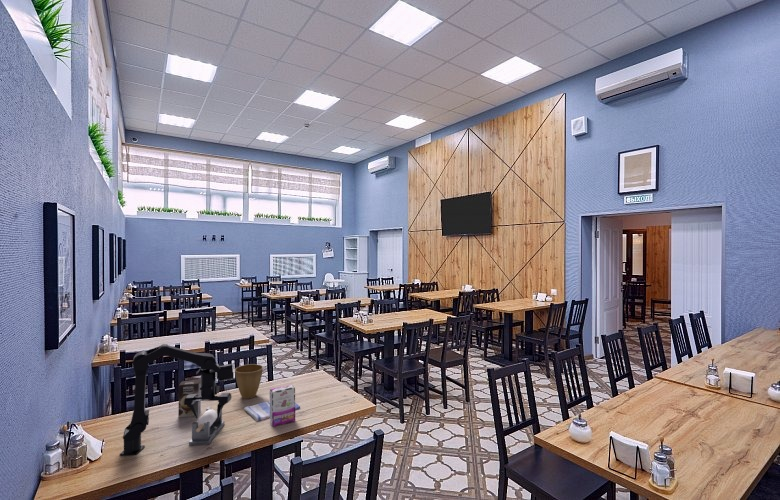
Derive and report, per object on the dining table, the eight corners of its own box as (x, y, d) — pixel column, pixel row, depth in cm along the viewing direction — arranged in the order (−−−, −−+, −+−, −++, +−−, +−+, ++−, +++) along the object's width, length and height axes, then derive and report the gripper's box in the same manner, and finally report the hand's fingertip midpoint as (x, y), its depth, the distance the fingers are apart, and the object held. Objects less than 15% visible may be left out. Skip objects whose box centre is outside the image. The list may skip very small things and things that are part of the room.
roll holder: (208, 444, 157) (208, 424, 157) (188, 445, 156) (189, 425, 156) (224, 423, 176) (224, 405, 176) (206, 424, 175) (206, 406, 175)
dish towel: (243, 411, 191) (243, 405, 191) (286, 399, 206) (286, 394, 206) (255, 423, 178) (255, 417, 178) (300, 409, 193) (300, 404, 193)
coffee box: (177, 418, 182) (178, 385, 182) (181, 412, 188) (181, 380, 188) (198, 415, 184) (198, 383, 184) (201, 410, 190) (201, 379, 190)
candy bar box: (292, 417, 183) (292, 384, 183) (295, 421, 179) (295, 387, 179) (269, 423, 177) (269, 388, 177) (272, 427, 172) (272, 391, 173)
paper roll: (208, 430, 157) (198, 420, 157) (197, 440, 157) (187, 430, 156) (223, 411, 175) (214, 403, 175) (213, 421, 175) (204, 412, 174)
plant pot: (228, 399, 205) (228, 370, 205) (248, 389, 219) (248, 362, 219) (249, 403, 199) (249, 373, 199) (268, 393, 213) (268, 365, 213)
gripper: (235, 376, 175) (235, 409, 175) (194, 377, 173) (194, 411, 173) (227, 384, 164) (227, 420, 164) (183, 386, 162) (182, 421, 162)
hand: (207, 417), depth 166 cm, fingers open, 9 cm apart
